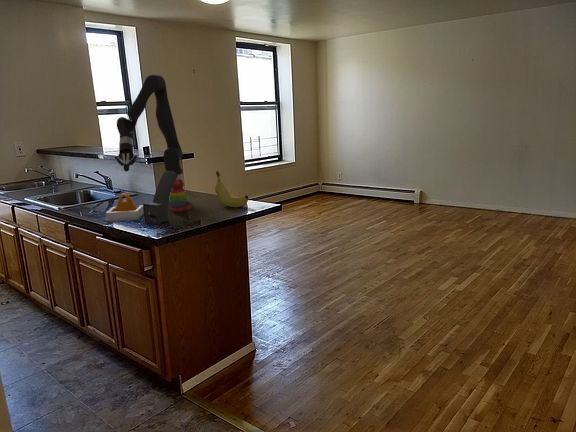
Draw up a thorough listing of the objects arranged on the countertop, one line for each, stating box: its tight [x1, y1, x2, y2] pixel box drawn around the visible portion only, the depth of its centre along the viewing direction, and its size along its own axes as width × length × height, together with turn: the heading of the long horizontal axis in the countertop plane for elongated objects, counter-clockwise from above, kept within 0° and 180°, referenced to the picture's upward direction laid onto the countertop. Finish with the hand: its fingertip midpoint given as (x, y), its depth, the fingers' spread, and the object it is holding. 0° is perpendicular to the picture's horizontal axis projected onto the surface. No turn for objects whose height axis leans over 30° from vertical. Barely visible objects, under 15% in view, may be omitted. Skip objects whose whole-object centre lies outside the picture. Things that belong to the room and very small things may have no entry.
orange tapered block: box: [115, 192, 138, 212], centre depth 237 cm, size 11×7×12 cm
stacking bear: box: [169, 179, 192, 213], centre depth 246 cm, size 11×10×18 cm
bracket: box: [105, 204, 144, 222], centre depth 235 cm, size 16×14×4 cm
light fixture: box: [142, 170, 178, 226], centre depth 224 cm, size 11×17×24 cm, turn 147°
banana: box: [214, 171, 249, 208], centre depth 250 cm, size 23×6×20 cm, turn 58°
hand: (126, 170), depth 247 cm, fingers closed
